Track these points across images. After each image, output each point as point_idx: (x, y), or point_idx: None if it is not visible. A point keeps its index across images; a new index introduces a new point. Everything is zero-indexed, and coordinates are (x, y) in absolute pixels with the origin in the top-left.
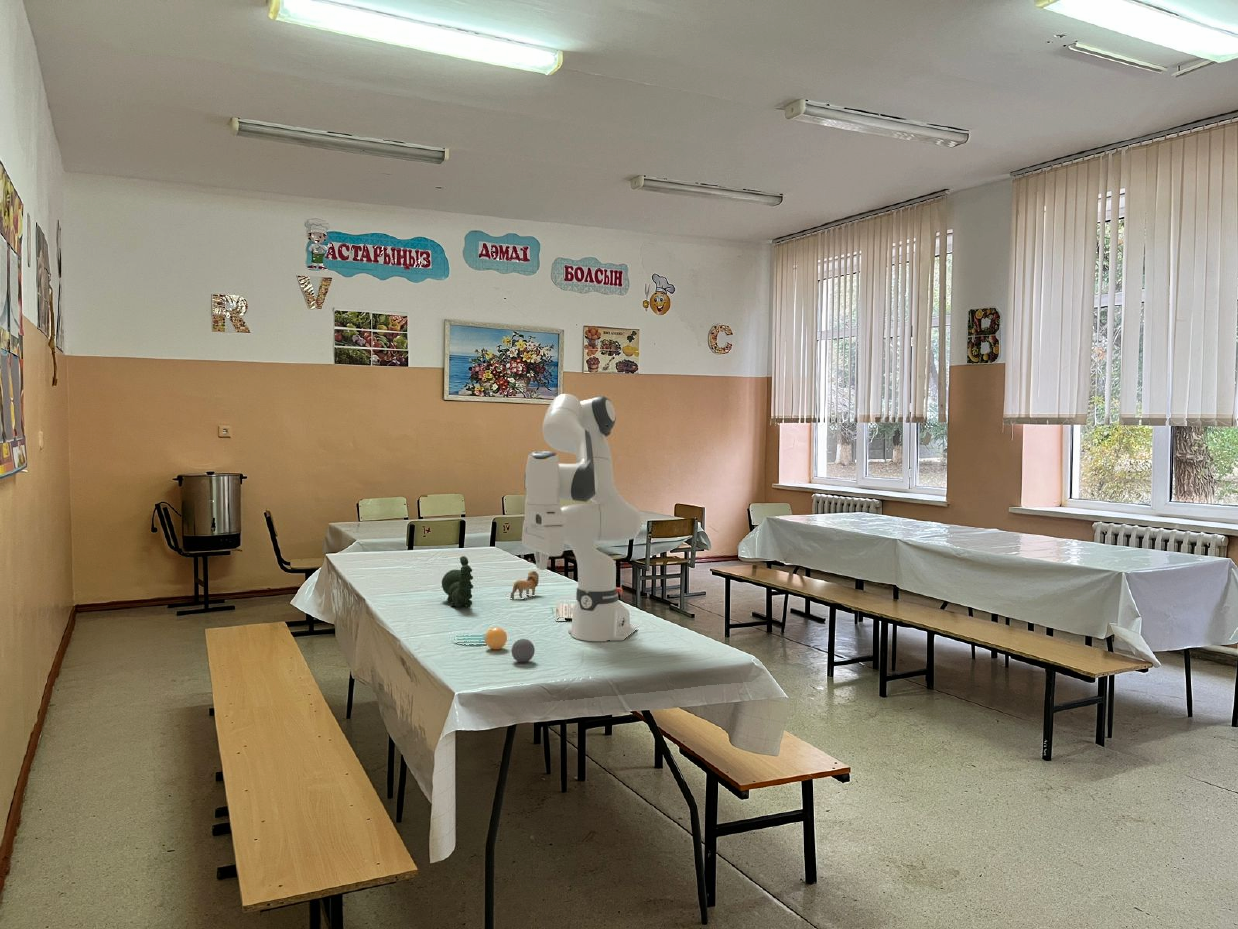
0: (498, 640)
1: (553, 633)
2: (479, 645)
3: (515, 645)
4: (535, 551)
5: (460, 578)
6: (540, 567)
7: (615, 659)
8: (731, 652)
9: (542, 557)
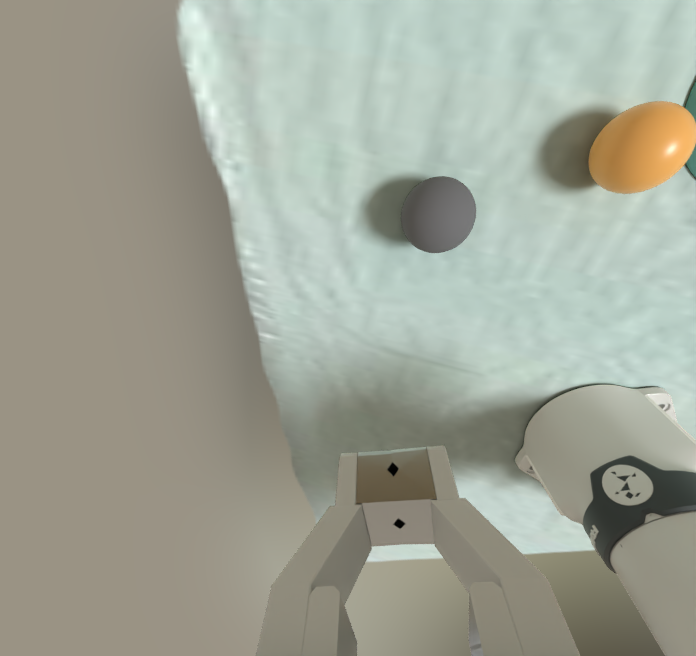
0: (598, 153)
1: (676, 352)
2: (692, 91)
3: (431, 189)
4: (509, 643)
5: None
6: (339, 468)
7: (384, 411)
8: (370, 557)
9: (280, 588)
